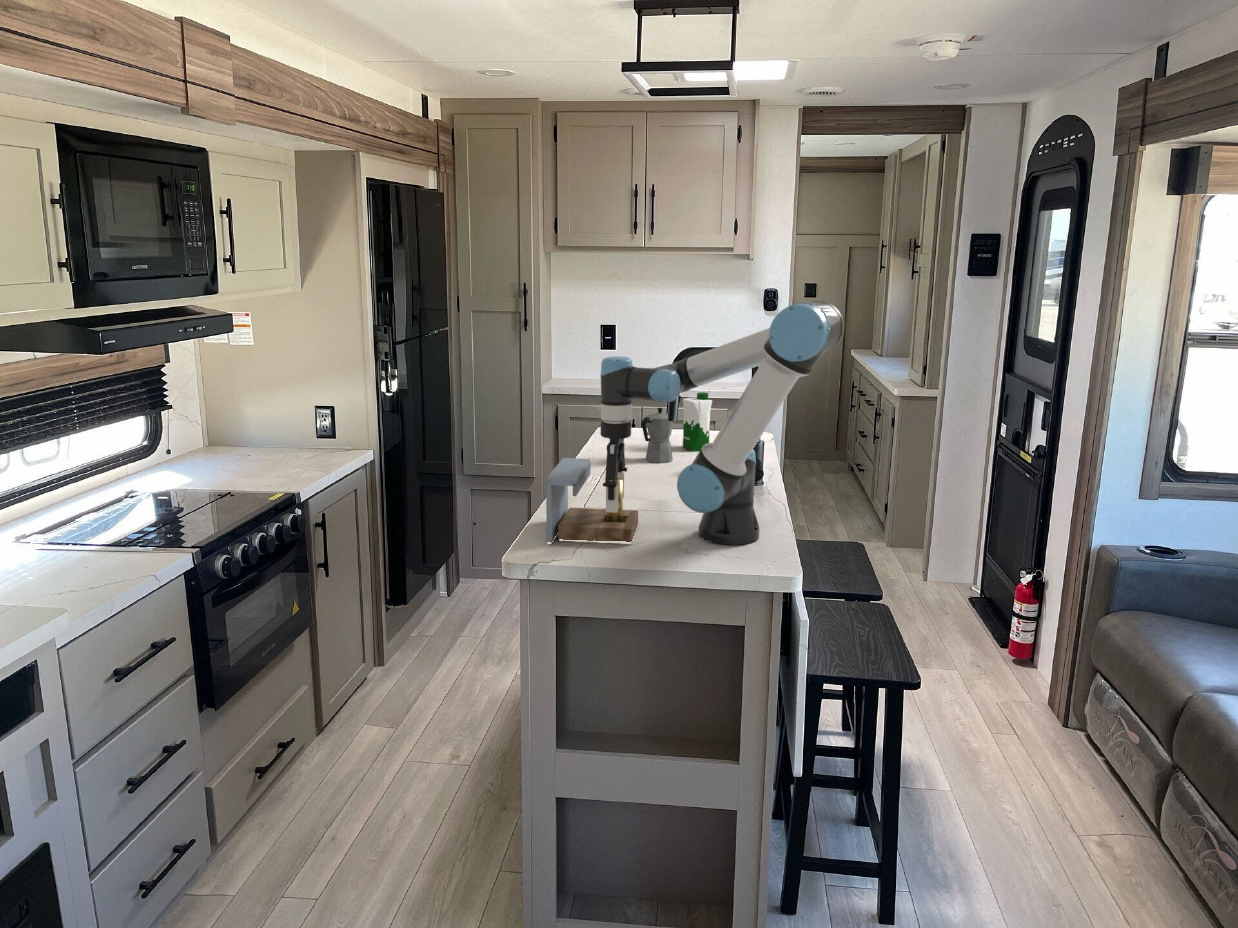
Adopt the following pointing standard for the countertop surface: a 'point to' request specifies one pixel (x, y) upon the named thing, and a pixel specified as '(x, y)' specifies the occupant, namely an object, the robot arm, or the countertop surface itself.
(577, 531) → the socket block
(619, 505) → the peg
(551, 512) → the blue-grey hooked bracket
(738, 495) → the robot arm
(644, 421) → the coffeepot
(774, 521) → the countertop surface
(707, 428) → the milk carton
